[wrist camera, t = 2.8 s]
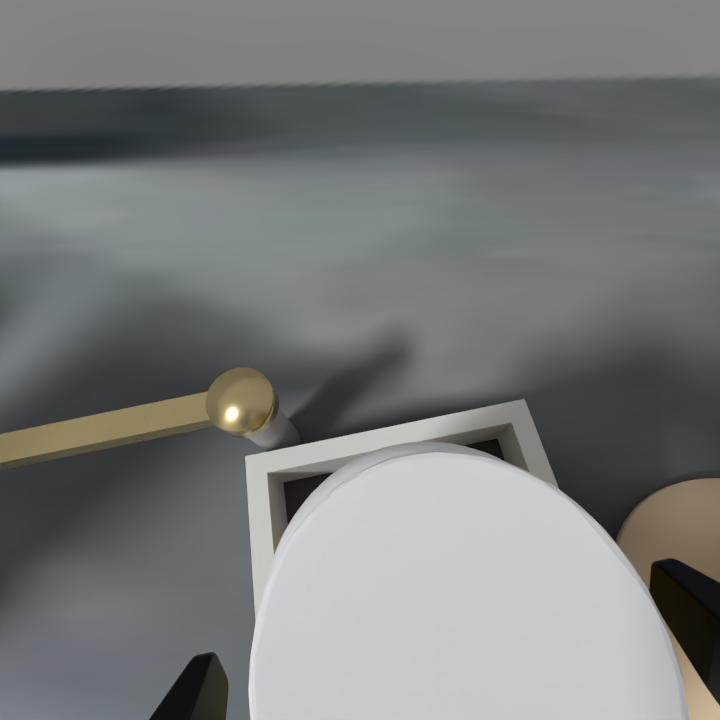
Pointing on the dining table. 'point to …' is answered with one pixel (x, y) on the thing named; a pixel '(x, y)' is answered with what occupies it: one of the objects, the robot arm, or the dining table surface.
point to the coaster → (679, 555)
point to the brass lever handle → (151, 421)
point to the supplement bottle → (455, 602)
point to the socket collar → (330, 455)
